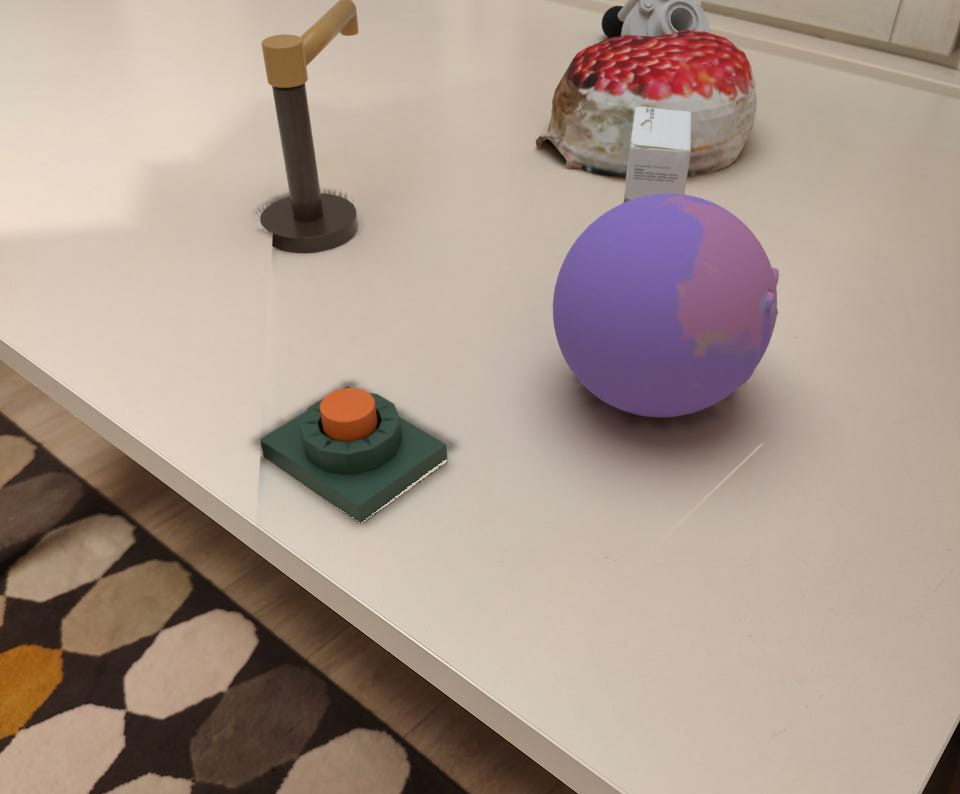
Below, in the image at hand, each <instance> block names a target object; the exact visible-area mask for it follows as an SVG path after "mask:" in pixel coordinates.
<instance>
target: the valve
mask: <svg viewBox="0 0 960 794" xmlns="http://www.w3.org/2000/svg"><path fill="white" fill-rule="evenodd" d="M601 30H602V32H603V34H604V35H605V36H606V38H607V39H609V38H612V37H621V36H624V35H636V36H654V37H655V36H661V35H666V34H672V33H677V32H679V31H685V30H693V31H705V32H708V33H711V27H710V22H709V20H708V16H707V14H706V13H705V10H704V9H703V7H702V1H701V0H627V1H626V2H625V4H624V5H614V6H611V7H610V8H608V9H607V10H606V11H605V12H604V14H603V15H602V17H601Z"/></svg>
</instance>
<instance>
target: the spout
mask: <svg viewBox="0 0 960 794" xmlns="http://www.w3.org/2000/svg"><path fill="white" fill-rule="evenodd" d="M339 34H340V35H342V36H345V37H349V36H350V37H351V36H352V37H353V36H355V35H358V34H359V22H358V11H357V6H356V4H355V2H354V1H353V0H338V1H337V2H336V3H335V4H334V5H332V7H331V8H330V9H328V11H326V12H325V13H324V14H323V15H322V16H320V18H318V19H317V21H316V22H315V23H313V24H312V26H310V27H309V28H308V29H307V30H306V31H305V32H304V33H303V34H301V36H299V35H296V34H276V35H271V36H268V37H266V38H264V39H263V40H262V41H261V51H262V55H263V61H264V68H265V74H266V81H267V83H268V85H270V86H271V87H272V86H274V87H280V88H288V87H295V86H299V85H302V84H304V83H305V84H306V83H307V82H308V80H309V75H308V68H307V67H308V65H309V64H311V62H312V61H313V60H314V59H316V57H317V56H318V55H320V53H321V52H322V51H323V50H324V49H325V48H326V47H327V46H328V45H329V44H330V43H331V42H332V41H334V40H335V38H336V37H337V36H338V35H339Z"/></svg>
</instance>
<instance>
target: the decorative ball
mask: <svg viewBox="0 0 960 794" xmlns="http://www.w3.org/2000/svg"><path fill="white" fill-rule="evenodd" d="M779 273H780V269H778V268H776V267H773V266H772V264H771V262H770V258H769V257H768V255H767V252H766V251H765V248H764V247H763V245H762V244H761V242H760V240H759V239H758V237H757V236H756V235H755V234H754V232H753V231H752V230H751V229H750V228H749V227H748V226H747V225H746V223H744V222H743V220H741V219H740V218H738V217H737V216H736V215H735V214H733V213H732V212H730V211H729V210H727V209H726V208H724V207H722V206H720V205H719V204H717V203H714V202H712V201H710V200H707V199H704V198H702V197H698V196H694V195H689V194H684V195H683V194H655V195H648V196H643V197H639V198H636V199H633V200H630V201H627V202H625V203H624V202H623V203H620V204H619V205H616V206H614V207H612V208H610V209H609V210H607V211H606V212H604V213H602V215H600V216H599V217H597V218H596V219H595V220H594V221H592V222H591V223H589V225H588V226H587V227H586V228H585V229H584V230H583V232H582V233H580V234H579V236H578V237H577V238H576V240H575V241H574V242H573V244H572V245H571V247H570V248H569V250H568V251H567V254H566V256H565V257H564V259H563V262H562V264H561V267H560V269H559V271H558V275H557V279H556V280H555V281H556V282H555V286H554V291H553V298H552V321H553V328H554V333H555V337H556V340H557V344H558V347H559V349H560V353H561V354H562V356H563V357H562V358H564V360H565V362H566V364H567V366H568V368H569V369H570V371H571V372H572V373H573V375H574V376H575V377H576V379H577V380H578V381H579V382H580V383H581V384H582V385H583V387H585V388H586V389H587V390H588V391H589V392H590V393H591V394H593V396H595V397H596V398H598V399H600V400H601V401H603V402H604V403H605V404H607V405H609V406H611V407H613V408H616V409H618V410H620V411H623V412H625V413H629V414H631V415H632V414H633V415H636V416H642V417H645V418H646V417H648V418H675V417H682V416H686V415H690V414H693V413H697V412H700V411H703V410H705V409H707V408H710V407H712V406H713V405H716V404H717V403H719V402H721V401H723V400H724V399H726V398H728V397H729V396H730V395H731V394H733V393H735V391H736V390H738V389H739V388H740V387H742V386H744V385H745V384H747V383H748V382H749V380H750V378H751V377H752V376H753V375H754V372H755V370H756V369H757V367H758V366H759V365H760V363H761V361H762V359H763V357H764V356H765V353H766V351H767V350H768V347H769V346H770V343H771V339H772V337H773V333H774V330H775V327H776V322H777V318H778V314H779V311H778V291H777V288H778V287H777V286H778V282H779V277H780V274H779Z"/></svg>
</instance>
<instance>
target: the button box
mask: <svg viewBox="0 0 960 794" xmlns="http://www.w3.org/2000/svg"><path fill="white" fill-rule="evenodd" d="M345 388H351V386H349V385H347V386H345V387H343V388H342V389H345ZM368 393H369V394H371V395H372V397H373V398H374V400H375V407H376V416H377V426H376V428H375V430H374V431H373V432H372V433H371V434H370V435H369V436H367V437H365V438H363V439H360V440H355V441H350V442H344V441H337V440H334V439H332V438H330V437H329V436H327V435H326V433H325V432H324V430H323V425H322V419H321V413H320V404H321V402H322V400H323V399H324V398H325V397H322V399H321V398H320V399H319V400H318V401H316V402H315V403H313V404H311V405H310V406H309V407H307V409H306V410H305V411H303V412H302V413H300V414H299V415H297V416H296V417H294V418H293V419H290V420H289V421H287V422H285V423H283V424H282V425H280V426H279V427H277V428H276V429H274V430H273V431H271V432H269V433H268V434H266V435H264V436H262V437H261V438H260V439H259V442H260V446H261V450H262V455H263V458H265V459H267V460H268V461H269V462H270V463H272V464H273V465H275V466H276V467H278V468H279V469H281V470H282V471H283V472H285V473H286V474H288V475H289V476H291V477H292V478H294V479H295V480H296V481H298V482H299V481H300V482H299V483H301V484H302V483H303V484H302V485H304V486H305V487H306V486H307V487H306V488H308V489H309V490H311V491H312V492H313V493H315V494H316V495H318V496H319V495H320V496H319V497H320V498H322V497H323V498H322V499H323V500H325V501H327V500H328V501H327V502H328V503H329V502H330V505H332V504H333V505H332V506H334V507H335V506H336V507H335V508H337V507H338V508H339V509H341V510H342V511H344V512H346V513H347V514H349V517H350V516H351V517H354V519H356V520H358V522H360V523H361V522H363V521H364V520H366V518H368V517H369V516H371V515H372V513H374V512H376V511H377V510H378V509H380V508H381V507H382V506H384V505H385V504H387V503H388V502H390V500H392V499H393V498H395V496H397V495H399V494H400V493H401V492H402V491H404V490H405V489H407V487H408V486H410V485H412V483H414V482H416V481H417V480H419V478H421V477H422V476H423V475H425V474H426V473H428V471H430V470H432V469H433V468H434V467H436V466H438V464H440V463H442V461H444V460H446V459H447V460H448V449H447V448H448V445H447V444H446V443H445V442H443V441H441V440H440V439H438V438H437V437H435V436H434V435H431V434H430V433H428V432H426V431H425V430H423V429H421V428H419V427H418V426H416V425H415V424H413V423H411V422H410V421H408V420H406V419H404V418H403V417H401V416H400V414H399V412H398V410H397V407H396V405H395V404H394V403H393V402H392V401H390V400H388V399H386V398H385V397H383V396H382V395H380V394H378V393H374V392H368ZM338 508H337V509H338ZM339 509H338V510H339ZM341 510H340V511H341ZM342 511H341V512H342ZM344 512H343V513H344ZM347 514H346V515H347ZM351 517H350V518H351ZM354 519H353V520H354ZM358 522H357V523H358ZM360 523H359V524H360Z"/></svg>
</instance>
